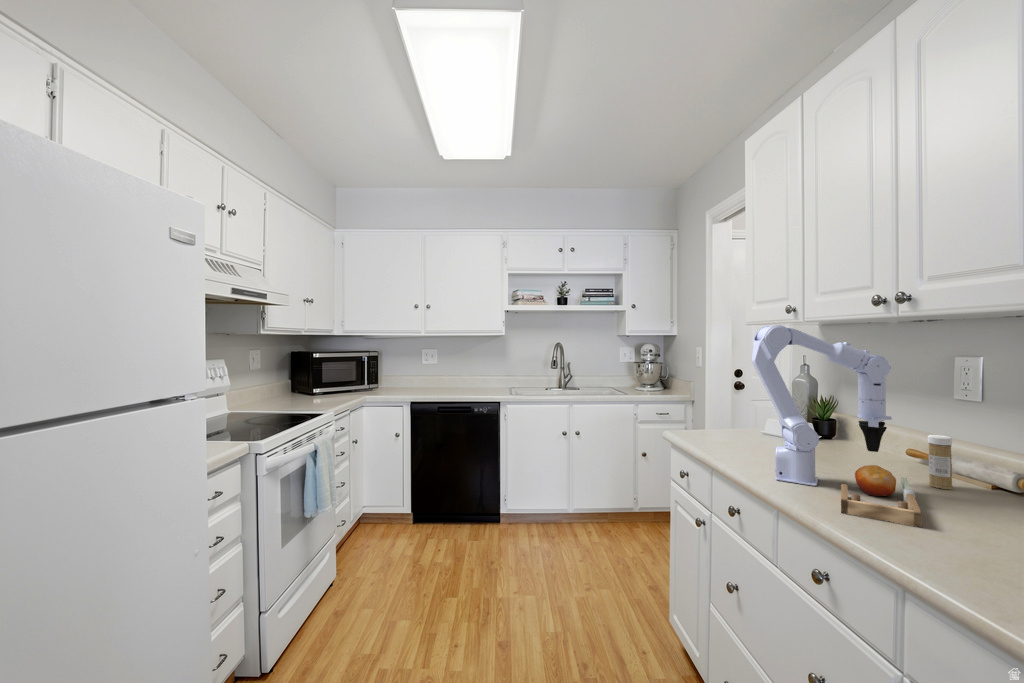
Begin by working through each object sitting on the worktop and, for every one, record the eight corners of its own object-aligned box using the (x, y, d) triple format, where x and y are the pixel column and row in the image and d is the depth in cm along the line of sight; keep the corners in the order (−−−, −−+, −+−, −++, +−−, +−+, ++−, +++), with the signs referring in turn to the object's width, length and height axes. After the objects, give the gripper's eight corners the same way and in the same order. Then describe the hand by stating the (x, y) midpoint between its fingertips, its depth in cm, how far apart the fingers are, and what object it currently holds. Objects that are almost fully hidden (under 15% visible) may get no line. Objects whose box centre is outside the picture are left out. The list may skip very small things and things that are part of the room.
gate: (915, 506, 101) (915, 492, 101) (904, 504, 103) (904, 490, 103) (909, 490, 112) (908, 477, 112) (898, 489, 113) (898, 476, 113)
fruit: (882, 482, 115) (890, 460, 111) (896, 507, 108) (904, 485, 104) (846, 479, 117) (852, 458, 113) (857, 503, 111) (863, 482, 107)
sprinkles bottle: (954, 487, 114) (954, 436, 114) (950, 491, 112) (949, 438, 112) (931, 483, 118) (930, 433, 118) (926, 486, 115) (925, 435, 115)
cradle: (841, 513, 99) (840, 495, 99) (841, 495, 110) (841, 479, 110) (921, 527, 91) (921, 508, 91) (913, 507, 101) (913, 490, 101)
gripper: (893, 403, 109) (894, 457, 109) (889, 397, 121) (889, 446, 121) (858, 401, 114) (858, 453, 114) (856, 395, 125) (857, 442, 125)
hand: (872, 449), depth 118 cm, fingers open, 4 cm apart
